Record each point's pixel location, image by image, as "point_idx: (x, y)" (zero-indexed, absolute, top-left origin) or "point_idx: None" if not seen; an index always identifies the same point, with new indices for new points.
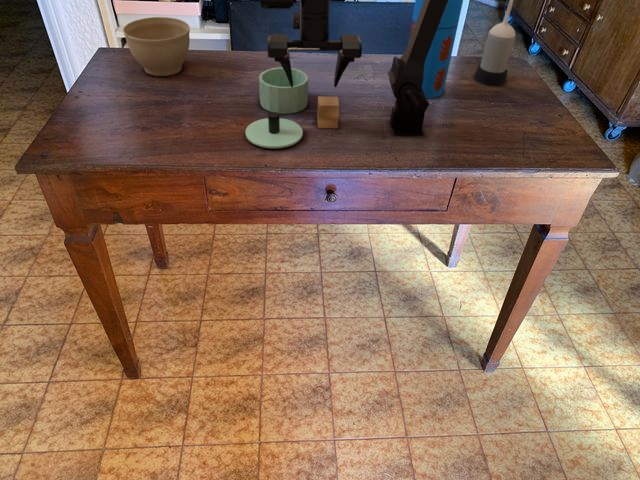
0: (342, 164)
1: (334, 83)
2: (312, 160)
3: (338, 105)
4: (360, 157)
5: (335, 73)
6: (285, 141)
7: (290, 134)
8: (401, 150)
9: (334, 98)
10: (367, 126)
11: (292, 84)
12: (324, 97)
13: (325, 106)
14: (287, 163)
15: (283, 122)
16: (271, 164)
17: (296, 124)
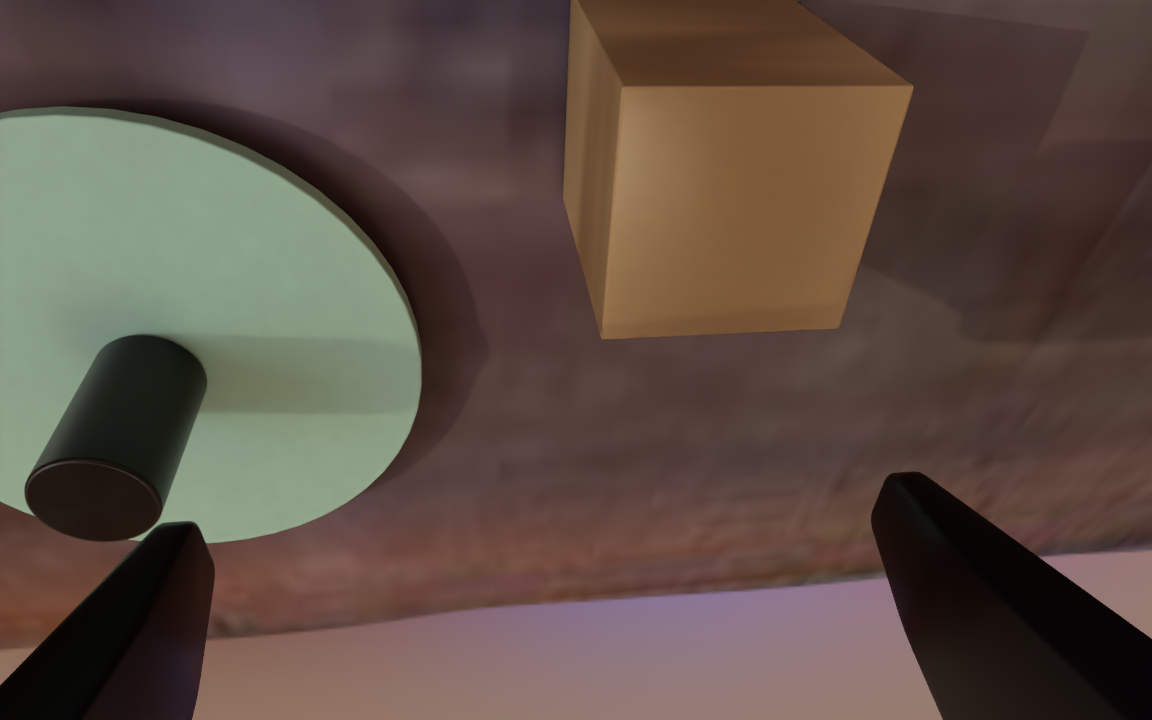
0: (669, 572)
1: (896, 557)
2: (499, 562)
3: (832, 324)
4: (791, 514)
5: (1006, 664)
6: (294, 488)
7: (316, 404)
8: (1069, 435)
9: (846, 149)
10: (1026, 146)
11: (200, 640)
12: (713, 122)
13: (678, 328)
14: (348, 598)
15: (197, 218)
16: (251, 614)
17: (347, 247)
